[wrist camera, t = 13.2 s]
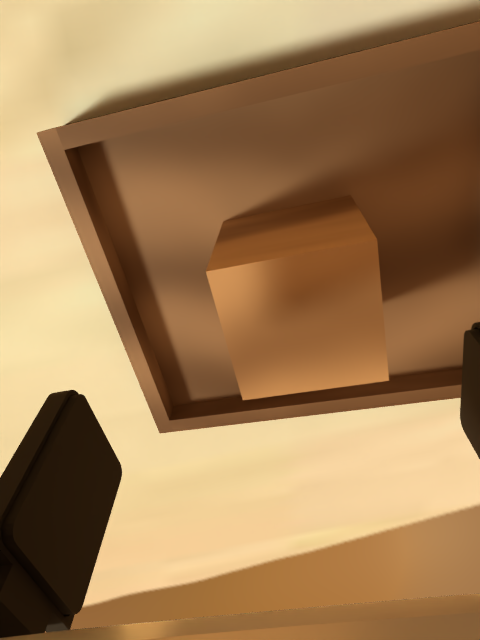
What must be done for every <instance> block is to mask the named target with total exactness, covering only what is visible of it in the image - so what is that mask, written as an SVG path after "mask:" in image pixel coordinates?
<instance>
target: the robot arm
mask: <svg viewBox="0 0 480 640" xmlns="http://www.w3.org/2000/svg"><path fill="white" fill-rule="evenodd" d="M460 419H461V424H462V427H463V430H464V432H465V434H466V435H467V437H468V439H469V441H470V443H471V444H472V446H473V448H474V450H475V452H476V453H477V455H478V457H479V459H480V322H476V323H474V324H473V325H472V327H471V330H466V331H465V333H464V342H463V364H462V386H461V408H460ZM121 477H122V468H121V465H120V462H119V460H118V458H117V457H116V455H115V453H114V451H113V449H112V447H111V445H110V443H109V441H108V440H107V438H106V436H105V434H104V432H103V430H102V428H101V426H100V424H99V422H98V421H97V419H96V417H95V415H94V413H93V411H92V409H91V407H90V405H89V403H88V402H87V400H86V398H85V396H84V395H82V394H78V393H77V392H76V391H75V390H69V391H63V392H57V393H52V394H50V395H49V396H48V397H47V399H46V401H45V403H44V404H43V406H42V408H41V409H40V411H39V413H38V414H37V416H36V418H35V420H34V421H33V423H32V425H31V426H30V428H29V430H28V431H27V433H26V435H25V437H24V438H23V440H22V442H21V443H20V445H19V447H18V448H17V450H16V452H15V454H14V455H13V457H12V459H11V460H10V462H9V464H8V465H7V467H6V469H5V471H4V472H3V474H2V476H1V477H0V640H480V594H479V593H478V594H463V595H451V596H440V597H428V598H417V599H404V600H392V601H381V602H369V603H358V604H345V605H335V606H323V607H311V608H300V609H289V610H278V611H266V612H257V613H256V612H255V613H244V614H233V615H222V616H212V617H202V618H189V619H179V620H169V621H158V622H147V623H137V624H127V625H116V626H106V627H95V628H85V629H75V630H70V627H71V624H72V621H73V618H74V615H75V614H77V613H78V612H79V611H80V610H81V608H82V605H83V603H84V599H85V596H86V593H87V589H88V586H89V583H90V579H91V576H92V573H93V570H94V566H95V563H96V560H97V556H98V553H99V550H100V547H101V543H102V540H103V537H104V533H105V530H106V527H107V524H108V520H109V517H110V514H111V510H112V507H113V504H114V500H115V497H116V494H117V491H118V487H119V484H120V481H121ZM45 631H46V632H47V633H45Z"/></svg>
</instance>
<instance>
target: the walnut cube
mask: <svg viewBox="0 0 480 640" xmlns="http://www.w3.org/2000/svg"><path fill="white" fill-rule="evenodd" d="M206 274H207V278H208V281H209V285H210V288H211V292H212V295H213V299H214V302H215V306H216V309H217V312H218V316H219V319H220V323H221V326H222V330H223V333H224V337H225V340H226V344H227V347H228V351H229V354H230V358H231V361H232V364H233V368H234V371H235V375H236V378H237V382H238V385H239V389H240V392H241V396H242V399H243V400H249V399H257V398H264V397H271V396H279V395H286V394H294V393H301V392H308V391H316V390H323V389H331V388H338V387H346V386H353V385H360V384H368V383H375V382H383V381H389V374H388V363H387V351H386V339H385V327H384V315H383V303H382V291H381V280H380V268H379V256H378V244H377V238H376V237H375V235H374V233H373V232H372V230H371V228H370V227H369V225H368V223H367V222H366V220H365V218H364V217H363V215H362V213H361V211H360V210H359V208H358V206H357V205H356V203H355V201H354V200H353V198H352V196H351V195H349V196H344V197H339V198H334V199H329V200H324V201H320V202H315V203H310V204H305V205H300V206H296V207H291V208H286V209H281V210H276V211H271V212H267V213H262V214H257V215H252V216H247V217H242V218H238V219H233V220H228V221H223V223H222V226H221V229H220V232H219V235H218V238H217V240H216V243H215V246H214V249H213V252H212V255H211V258H210V261H209V264H208V267H207V270H206Z"/></svg>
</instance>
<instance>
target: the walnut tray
mask: <svg viewBox="0 0 480 640" xmlns="http://www.w3.org/2000/svg"><path fill="white" fill-rule="evenodd" d="M37 135H38V138H39V140H40V142H41V145H42V147H43V150H44V152H45V155H46V157H47V159H48V162H49V164H50V167H51V169H52V172H53V174H54V177H55V179H56V181H57V184H58V186H59V189H60V191H61V194H62V196H63V198H64V201H65V203H66V206H67V208H68V211H69V213H70V216H71V218H72V220H73V223H74V225H75V228H76V230H77V233H78V235H79V237H80V240H81V242H82V245H83V247H84V250H85V252H86V255H87V257H88V259H89V262H90V264H91V267H92V269H93V272H94V274H95V277H96V279H97V281H98V284H99V286H100V289H101V291H102V294H103V296H104V298H105V301H106V303H107V306H108V308H109V311H110V313H111V316H112V318H113V320H114V323H115V325H116V328H117V330H118V333H119V335H120V337H121V340H122V342H123V345H124V347H125V350H126V352H127V355H128V357H129V359H130V362H131V364H132V367H133V369H134V372H135V374H136V376H137V379H138V381H139V384H140V386H141V389H142V391H143V394H144V396H145V398H146V401H147V403H148V406H149V408H150V411H151V413H152V416H153V418H154V420H155V423H156V425H157V428H158V430H159V433H166V432H175V431H183V430H192V429H200V428H209V427H217V426H225V425H234V424H242V423H251V422H259V421H268V420H276V419H284V418H293V417H301V416H310V415H318V414H327V413H335V412H343V411H352V410H360V409H369V408H377V407H385V406H394V405H402V404H411V403H419V402H428V401H436V400H444V399H453V398H461V386H462V364H463V342H464V333H465V331H466V330H471V327H472V325H473V324H474V323H476V322H480V21H478V22H474V23H470V24H466V25H462V26H458V27H454V28H450V29H446V30H442V31H438V32H434V33H430V34H426V35H422V36H418V37H414V38H410V39H406V40H402V41H398V42H394V43H390V44H386V45H382V46H378V47H374V48H370V49H366V50H362V51H358V52H354V53H350V54H346V55H342V56H338V57H334V58H330V59H326V60H322V61H318V62H314V63H310V64H307V65H303V66H299V67H295V68H291V69H287V70H283V71H279V72H275V73H271V74H267V75H263V76H259V77H255V78H251V79H247V80H243V81H239V82H235V83H231V84H227V85H223V86H219V87H215V88H211V89H207V90H203V91H199V92H195V93H191V94H187V95H183V96H179V97H175V98H171V99H167V100H163V101H159V102H155V103H151V104H147V105H143V106H139V107H135V108H131V109H127V110H123V111H119V112H115V113H111V114H107V115H103V116H99V117H95V118H91V119H88V120H84V121H80V122H76V123H72V124H68V125H64V126H60V127H56V128H52V129H49V130H45V131H41V132H38V133H37ZM349 195H351V196H352V198H353V200H354V201H355V203H356V205H357V206H358V208H359V210H360V211H361V213H362V215H363V217H364V218H365V220H366V222H367V223H368V225H369V227H370V228H371V230H372V232H373V233H374V235H375V237H376V238H377V244H378V256H379V268H380V280H381V291H382V303H383V315H384V327H385V339H386V351H387V363H388V374H389V381H383V382H375V383H368V384H360V385H353V386H346V387H338V388H331V389H323V390H316V391H308V392H301V393H294V394H286V395H279V396H271V397H264V398H257V399H249V400H243V399H242V396H241V392H240V389H239V385H238V382H237V378H236V375H235V371H234V368H233V364H232V361H231V358H230V354H229V351H228V347H227V344H226V340H225V337H224V333H223V330H222V326H221V323H220V319H219V316H218V312H217V309H216V306H215V302H214V299H213V295H212V292H211V288H210V285H209V281H208V278H207V274H206V270H207V267H208V264H209V261H210V258H211V255H212V252H213V249H214V246H215V243H216V240H217V238H218V235H219V232H220V229H221V226H222V223H223V221H228V220H233V219H238V218H242V217H247V216H252V215H257V214H262V213H267V212H271V211H276V210H281V209H286V208H291V207H296V206H300V205H305V204H310V203H315V202H320V201H324V200H329V199H334V198H339V197H344V196H349Z"/></svg>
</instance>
